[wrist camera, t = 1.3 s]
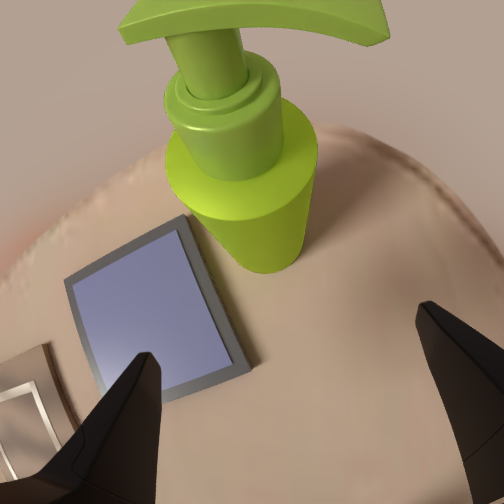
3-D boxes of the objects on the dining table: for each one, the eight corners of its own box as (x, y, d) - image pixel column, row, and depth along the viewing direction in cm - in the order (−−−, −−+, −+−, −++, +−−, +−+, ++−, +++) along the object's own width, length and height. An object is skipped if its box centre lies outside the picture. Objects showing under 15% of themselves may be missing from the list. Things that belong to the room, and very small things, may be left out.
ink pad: (252, 368, 22) (250, 371, 21) (117, 415, 22) (110, 418, 21) (187, 217, 25) (182, 213, 24) (70, 281, 25) (62, 279, 24)
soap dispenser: (312, 280, 23) (417, 98, 3) (222, 268, 24) (19, 107, 4) (320, 206, 24) (370, -49, 4) (234, 196, 25) (126, -35, 5)
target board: (131, 519, 19) (128, 523, 19) (29, 512, 20) (26, 514, 19) (46, 344, 24) (40, 344, 23) (-30, 381, 24) (-34, 381, 24)
